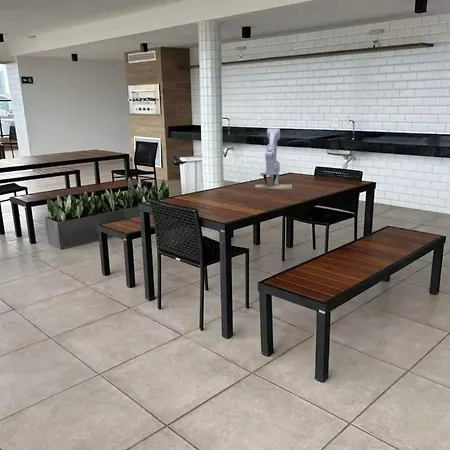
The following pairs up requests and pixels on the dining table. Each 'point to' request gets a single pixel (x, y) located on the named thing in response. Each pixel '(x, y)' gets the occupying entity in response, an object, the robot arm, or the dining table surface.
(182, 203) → the dining table surface
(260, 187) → the birch board
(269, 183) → the eraser block
